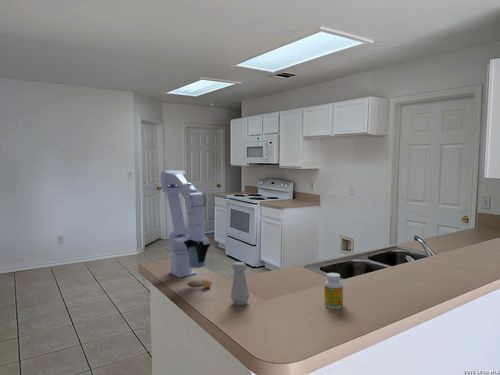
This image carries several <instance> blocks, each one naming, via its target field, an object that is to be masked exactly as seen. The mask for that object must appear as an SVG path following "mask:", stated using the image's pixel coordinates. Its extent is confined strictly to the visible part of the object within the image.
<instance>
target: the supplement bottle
mask: <svg viewBox="0 0 500 375" xmlns="http://www.w3.org/2000/svg"><path fill="white" fill-rule="evenodd" d="M343 285H344V284H343V281H341V275H340V273H337V272H327V274H326V280H325V282H324V306H325V307H326V308H327V309H332V310H339V309H342V308H343V307H344V301H343V300H344V293H343V292H344V286H343Z"/></svg>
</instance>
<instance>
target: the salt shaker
mask: <svg viewBox="0 0 500 375" xmlns="http://www.w3.org/2000/svg"><path fill="white" fill-rule="evenodd" d="M246 270H247V264H246V263H245V262H244V261H237V262H234V263H233V264H232V271H233V279H232V286H231V292H230V298H231V300H232V303H233V305H235V306H240V307H241V306H245V304H246V305H247V304H248V300H249V298H250V292H249V288H248V282H247V280H246V275H245V272H246Z"/></svg>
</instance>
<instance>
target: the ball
mask: <svg viewBox="0 0 500 375" xmlns="http://www.w3.org/2000/svg"><path fill="white" fill-rule="evenodd" d="M203 280H204V281H203V286H202V287H203V288H205V289H209V288H210V287H211V286H212V281H211V280H210V279H209V278H205V279H203Z"/></svg>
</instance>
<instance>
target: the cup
mask: <svg viewBox="0 0 500 375" xmlns="http://www.w3.org/2000/svg"><path fill="white" fill-rule="evenodd" d="M206 257H207V256H206ZM206 257H205V262H202V263H199V261H198V255H197V250H196V248H195V246H191V247H189V267H192V269H196V268H198V269H200V268H203V267H204V268H205V266H206V265H207V263H206V262H207V261H206Z"/></svg>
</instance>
